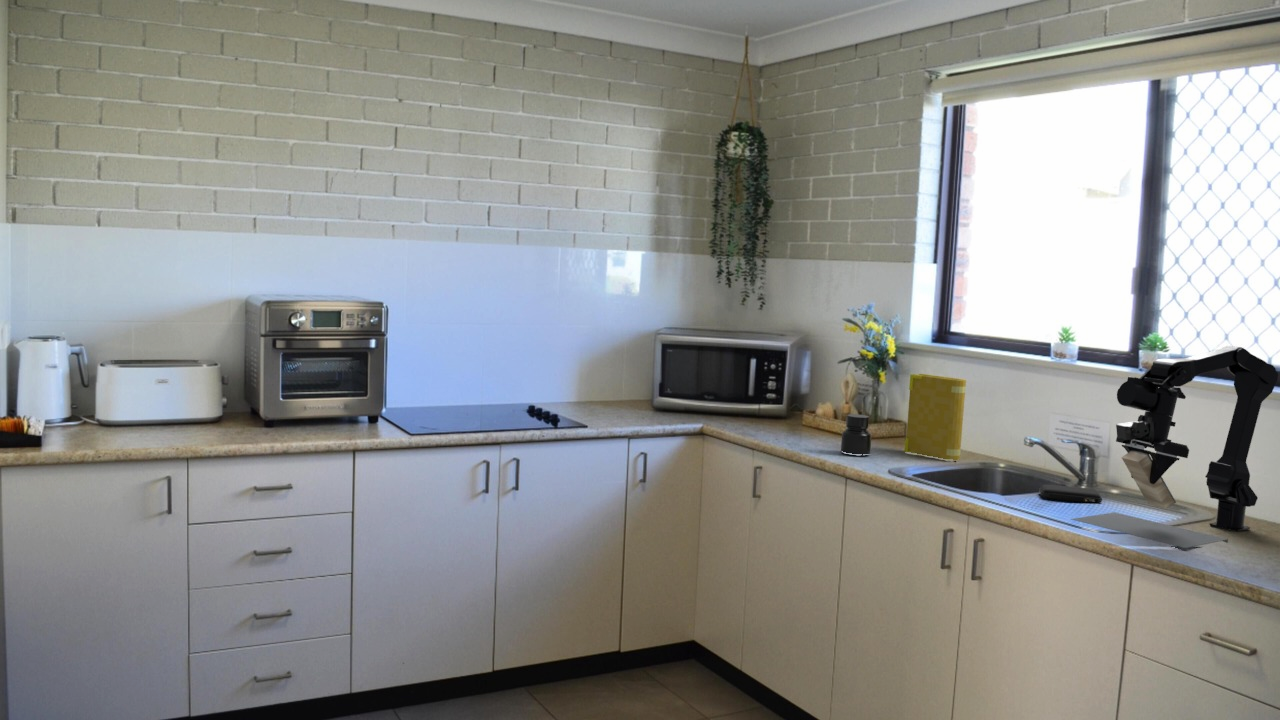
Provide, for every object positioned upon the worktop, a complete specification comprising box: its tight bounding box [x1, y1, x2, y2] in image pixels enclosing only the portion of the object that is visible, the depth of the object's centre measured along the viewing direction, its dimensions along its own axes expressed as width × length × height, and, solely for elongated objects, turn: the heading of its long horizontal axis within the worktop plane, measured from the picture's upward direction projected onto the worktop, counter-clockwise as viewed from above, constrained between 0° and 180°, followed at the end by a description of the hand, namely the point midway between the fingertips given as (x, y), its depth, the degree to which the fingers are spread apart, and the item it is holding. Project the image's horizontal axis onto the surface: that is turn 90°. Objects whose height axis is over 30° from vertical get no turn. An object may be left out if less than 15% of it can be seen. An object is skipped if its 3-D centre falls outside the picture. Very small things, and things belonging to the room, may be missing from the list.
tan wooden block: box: [1121, 450, 1177, 510], centre depth 238 cm, size 3×6×13 cm
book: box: [903, 373, 967, 460], centre depth 324 cm, size 17×7×25 cm, turn 42°
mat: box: [1070, 511, 1229, 552], centre depth 238 cm, size 18×27×1 cm, turn 34°
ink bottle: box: [840, 413, 872, 455], centre depth 322 cm, size 10×9×12 cm
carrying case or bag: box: [1038, 483, 1103, 505], centre depth 270 cm, size 11×3×15 cm
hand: (1142, 481), depth 238 cm, fingers closed on tan wooden block, 6 cm apart
